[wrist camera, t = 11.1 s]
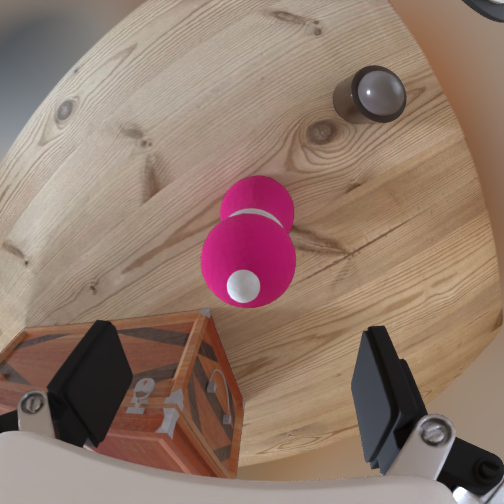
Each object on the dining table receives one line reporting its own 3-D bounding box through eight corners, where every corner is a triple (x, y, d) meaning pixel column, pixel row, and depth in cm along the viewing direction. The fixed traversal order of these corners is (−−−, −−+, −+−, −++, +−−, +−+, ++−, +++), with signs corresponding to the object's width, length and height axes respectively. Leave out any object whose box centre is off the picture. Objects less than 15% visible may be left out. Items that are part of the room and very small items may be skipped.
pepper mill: (243, 242, 36) (212, 360, 17) (216, 186, 34) (149, 258, 15) (301, 219, 34) (330, 325, 16) (276, 160, 32) (282, 203, 14)
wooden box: (22, 326, 45) (-35, 389, 27) (210, 305, 40) (169, 431, 21) (71, 400, 53) (33, 465, 34) (247, 403, 47) (235, 508, 28)
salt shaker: (331, 77, 28) (356, 56, 18) (376, 81, 28) (416, 65, 18) (333, 122, 30) (359, 119, 20) (378, 125, 30) (418, 125, 20)
